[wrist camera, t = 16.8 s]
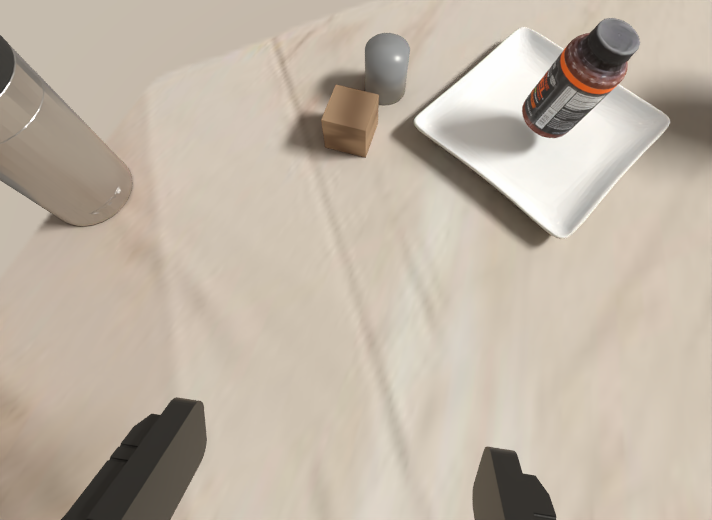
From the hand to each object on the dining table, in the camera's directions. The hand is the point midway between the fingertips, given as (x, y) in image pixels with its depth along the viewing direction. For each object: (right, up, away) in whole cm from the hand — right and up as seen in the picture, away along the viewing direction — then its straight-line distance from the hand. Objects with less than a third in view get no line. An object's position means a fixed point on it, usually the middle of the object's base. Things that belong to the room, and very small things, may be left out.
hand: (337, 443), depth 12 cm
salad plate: (+22, +20, +38) cm, 48 cm away
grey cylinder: (+4, +27, +40) cm, 49 cm away
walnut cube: (0, +20, +38) cm, 43 cm away
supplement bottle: (+21, +21, +35) cm, 46 cm away
